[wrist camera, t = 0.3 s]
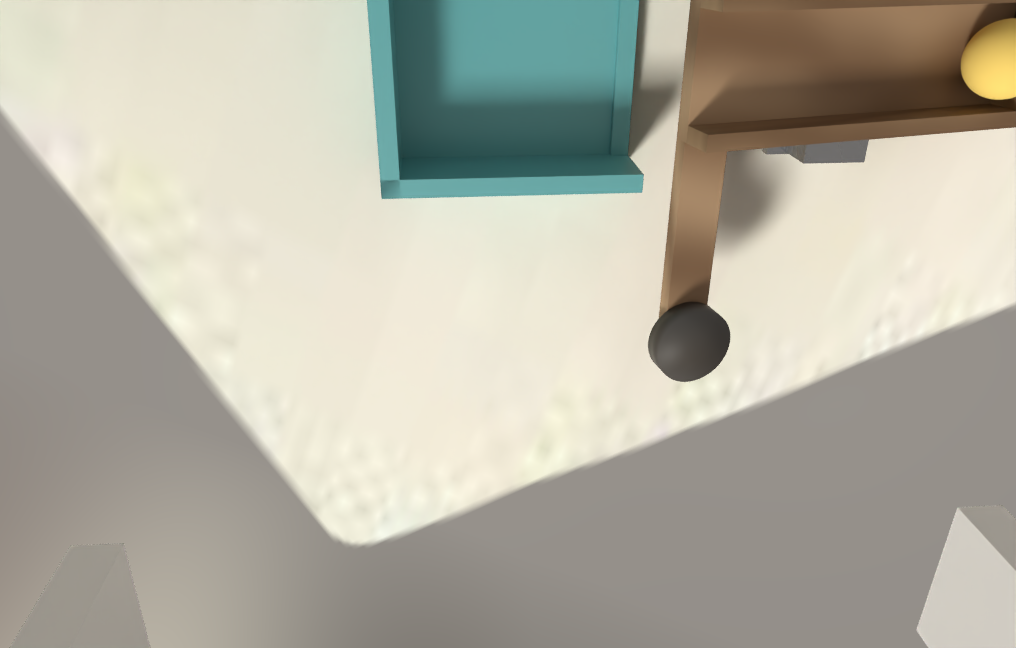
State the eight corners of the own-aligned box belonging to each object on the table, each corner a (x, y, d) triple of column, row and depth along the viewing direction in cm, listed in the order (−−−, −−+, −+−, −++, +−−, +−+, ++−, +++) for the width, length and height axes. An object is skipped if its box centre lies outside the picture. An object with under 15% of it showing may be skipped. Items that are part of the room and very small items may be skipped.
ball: (954, 15, 33) (1017, 24, 30) (1015, 13, 34) (1082, 21, 31) (935, 93, 34) (993, 108, 32) (994, 90, 35) (1056, 104, 32)
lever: (659, -22, 31) (705, -15, 28) (1003, -29, 35) (1076, -24, 32) (628, 356, 38) (661, 395, 35) (913, 313, 43) (965, 343, 40)
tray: (368, -89, 32) (360, -90, 28) (640, -88, 33) (665, -89, 29) (386, 171, 37) (381, 198, 33) (622, 166, 38) (642, 192, 34)
